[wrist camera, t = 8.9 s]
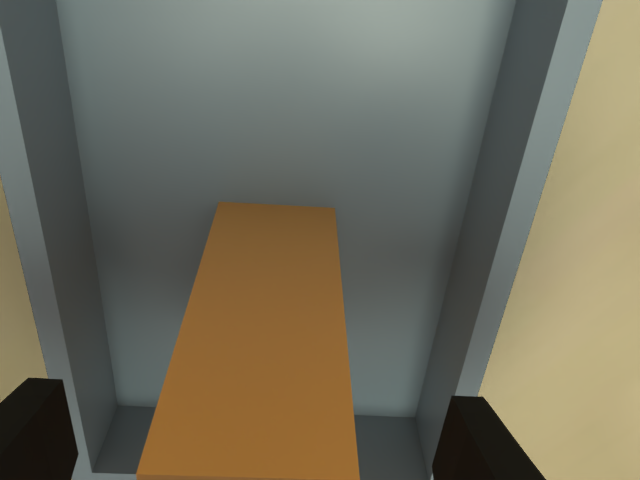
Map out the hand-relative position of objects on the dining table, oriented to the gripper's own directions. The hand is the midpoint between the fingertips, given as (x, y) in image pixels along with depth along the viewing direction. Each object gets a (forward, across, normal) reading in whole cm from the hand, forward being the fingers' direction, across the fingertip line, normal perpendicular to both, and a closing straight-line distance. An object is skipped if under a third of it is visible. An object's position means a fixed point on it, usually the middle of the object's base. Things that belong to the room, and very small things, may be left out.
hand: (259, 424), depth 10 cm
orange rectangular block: (+6, 0, 0) cm, 6 cm away
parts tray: (+6, 0, -2) cm, 6 cm away
